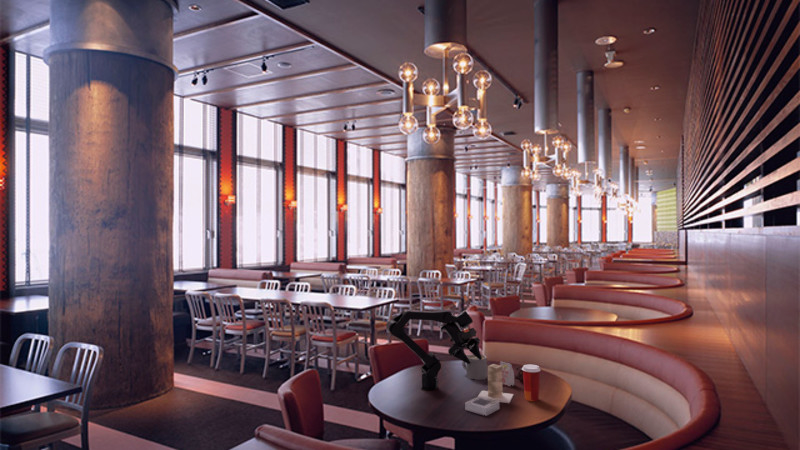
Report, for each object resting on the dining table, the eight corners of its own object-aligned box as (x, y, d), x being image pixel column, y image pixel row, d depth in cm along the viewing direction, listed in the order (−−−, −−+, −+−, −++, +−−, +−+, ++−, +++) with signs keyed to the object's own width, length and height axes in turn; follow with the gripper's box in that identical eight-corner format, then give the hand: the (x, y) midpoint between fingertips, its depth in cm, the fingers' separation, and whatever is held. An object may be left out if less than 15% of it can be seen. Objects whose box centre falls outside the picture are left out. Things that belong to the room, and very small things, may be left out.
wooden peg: (488, 396, 214) (487, 366, 214) (493, 393, 217) (493, 364, 217) (497, 398, 211) (496, 368, 211) (502, 395, 214) (502, 365, 214)
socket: (465, 409, 199) (464, 402, 200) (478, 403, 207) (478, 396, 207) (486, 416, 193) (485, 408, 193) (499, 408, 200) (499, 401, 200)
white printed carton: (503, 381, 236) (502, 360, 236) (514, 384, 230) (513, 363, 230) (497, 383, 233) (497, 361, 233) (509, 386, 228) (508, 365, 228)
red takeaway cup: (541, 371, 230) (523, 365, 244) (528, 368, 228) (510, 363, 242) (539, 386, 229) (521, 380, 243) (525, 384, 226) (508, 377, 241)
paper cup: (541, 397, 213) (540, 364, 213) (540, 403, 206) (539, 369, 206) (522, 395, 216) (522, 363, 216) (521, 401, 208) (520, 368, 208)
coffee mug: (491, 377, 242) (490, 357, 242) (476, 381, 237) (475, 360, 237) (472, 371, 253) (472, 351, 253) (458, 374, 248) (457, 354, 248)
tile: (476, 399, 212) (476, 397, 212) (482, 391, 221) (482, 390, 221) (509, 403, 206) (509, 401, 206) (513, 395, 216) (513, 394, 216)
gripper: (453, 326, 219) (474, 355, 211) (476, 319, 232) (497, 346, 225) (439, 341, 224) (459, 369, 216) (463, 334, 238) (482, 361, 230)
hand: (475, 361), depth 222 cm, fingers open, 9 cm apart
